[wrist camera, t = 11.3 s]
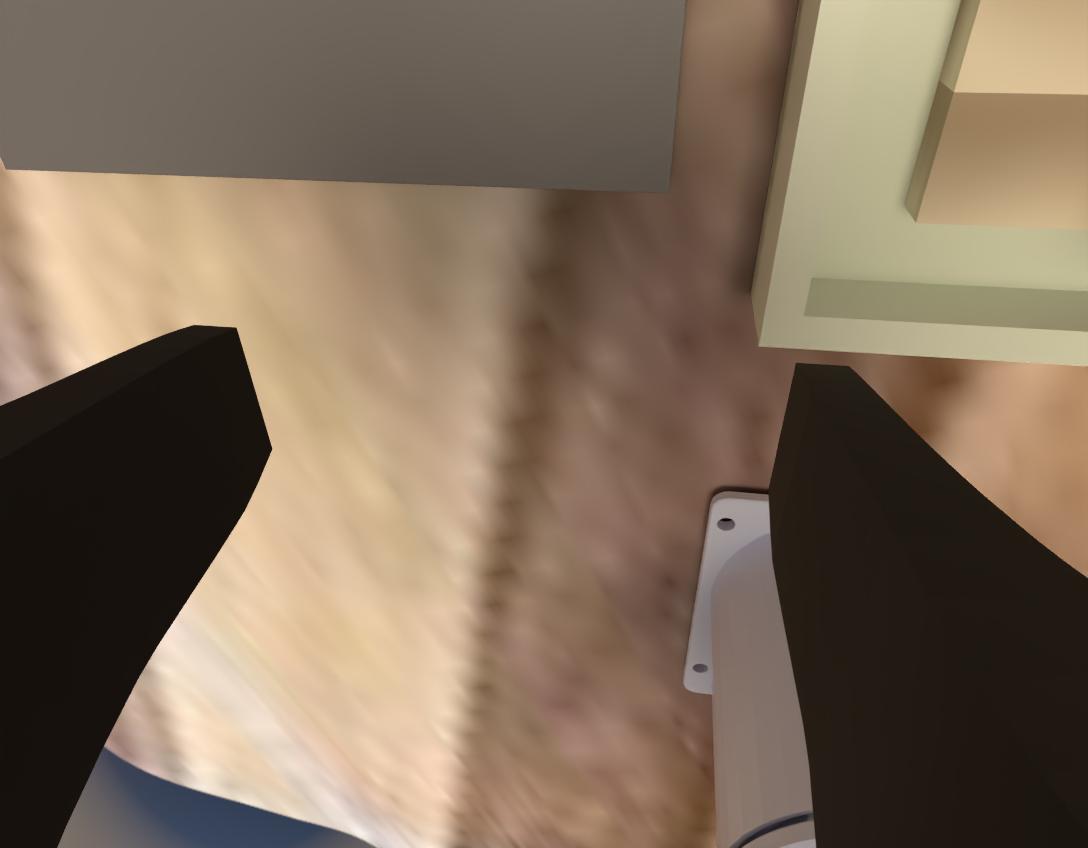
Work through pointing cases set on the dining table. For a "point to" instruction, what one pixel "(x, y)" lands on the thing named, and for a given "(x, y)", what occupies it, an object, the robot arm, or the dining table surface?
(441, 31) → the stake board
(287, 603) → the dining table surface
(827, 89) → the sage tray
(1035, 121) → the tan square frame
